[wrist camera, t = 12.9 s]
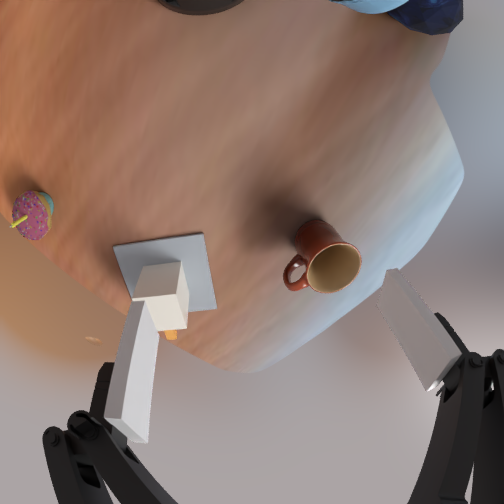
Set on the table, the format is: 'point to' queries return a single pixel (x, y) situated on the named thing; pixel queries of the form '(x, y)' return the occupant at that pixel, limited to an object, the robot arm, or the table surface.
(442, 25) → the decorative orb
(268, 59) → the table surface
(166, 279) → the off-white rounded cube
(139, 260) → the post base
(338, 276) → the mug
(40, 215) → the cupcake
